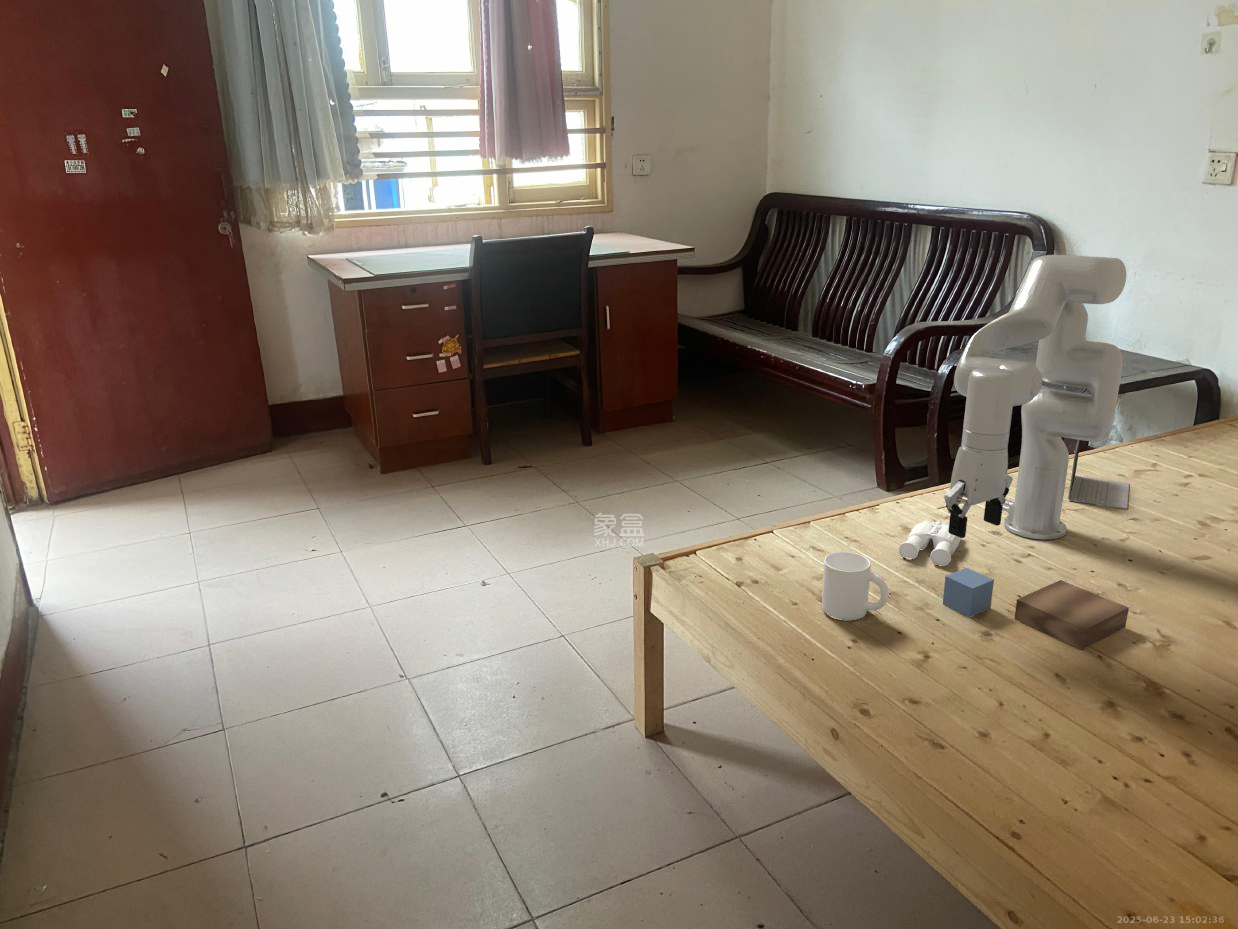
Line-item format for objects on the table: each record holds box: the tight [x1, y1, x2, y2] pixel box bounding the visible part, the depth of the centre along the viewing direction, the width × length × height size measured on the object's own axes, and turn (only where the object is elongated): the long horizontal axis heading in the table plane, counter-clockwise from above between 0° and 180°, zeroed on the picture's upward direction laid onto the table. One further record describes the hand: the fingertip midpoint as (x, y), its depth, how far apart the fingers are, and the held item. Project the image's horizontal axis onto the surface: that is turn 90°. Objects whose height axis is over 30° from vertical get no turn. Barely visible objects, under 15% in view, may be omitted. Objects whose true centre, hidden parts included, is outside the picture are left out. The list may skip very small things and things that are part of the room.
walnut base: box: [1013, 579, 1130, 651], centre depth 162 cm, size 13×13×4 cm
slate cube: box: [942, 567, 995, 618], centre depth 168 cm, size 6×6×6 cm
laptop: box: [1067, 439, 1130, 510], centre depth 217 cm, size 18×12×13 cm
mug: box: [821, 551, 889, 621], centre depth 166 cm, size 12×8×10 cm
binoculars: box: [898, 519, 962, 567], centre depth 192 cm, size 10×16×5 cm, turn 149°
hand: (974, 529), depth 164 cm, fingers open, 9 cm apart
